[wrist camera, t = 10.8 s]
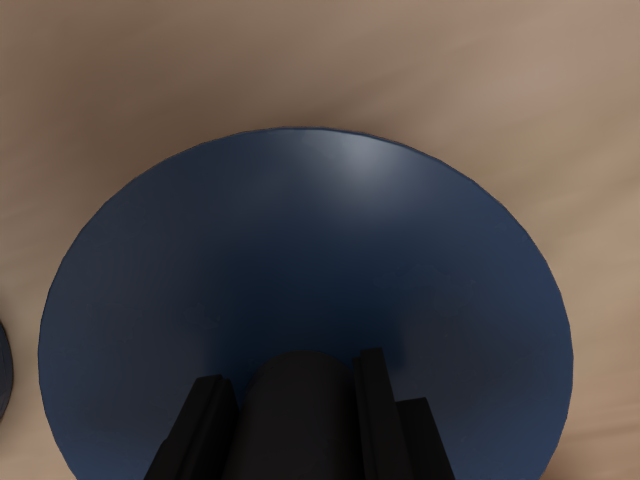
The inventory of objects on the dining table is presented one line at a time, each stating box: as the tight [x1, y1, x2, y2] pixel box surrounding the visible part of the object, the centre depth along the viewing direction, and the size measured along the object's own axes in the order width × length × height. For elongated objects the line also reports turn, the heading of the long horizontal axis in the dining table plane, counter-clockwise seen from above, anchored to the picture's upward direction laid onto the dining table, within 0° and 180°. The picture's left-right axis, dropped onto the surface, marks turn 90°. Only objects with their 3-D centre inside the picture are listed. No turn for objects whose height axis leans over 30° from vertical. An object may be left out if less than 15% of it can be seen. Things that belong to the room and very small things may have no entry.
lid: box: [38, 126, 573, 480], centre depth 9 cm, size 14×14×7 cm
